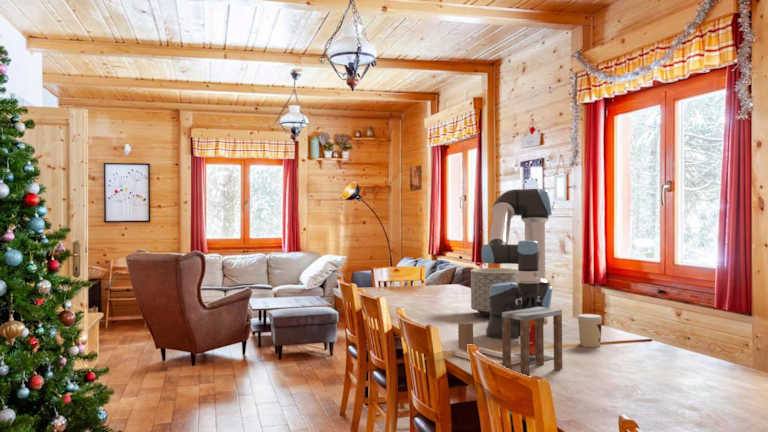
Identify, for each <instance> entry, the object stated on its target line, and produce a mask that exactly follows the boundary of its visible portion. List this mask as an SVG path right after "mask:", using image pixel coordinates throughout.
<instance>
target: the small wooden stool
mask: <svg viewBox="0 0 768 432" xmlns="http://www.w3.org/2000/svg"><path fill="white" fill-rule="evenodd" d="M562 312H563V310H562V309H557V308H551V307H550V308H545V307H533V308H526V309H520V310H514V311H507V312H502V341H501V342H502V343H501V344H502V345H501V348H502V349H501V350H502V351H501V352H502V358H501V359H502V361H503V366H505V367H506V368H509V369H511V370H512V365H511V355H512V345H511V343H512V339H511V319H510V318H512V319H517V320H520V345H519V346H520V347H519V348H520V353H521V363H520V374H521V373H522V374H525V375H527V376H530V375H531V373H530V372H531V371H530V367H531V364H530V362H529V320H533V319H535V355H536V364H535V365H536V366H544V365H545V361H544V356H545V354H544V351H545V350H544V325H543V318H544V317H546V318H548V317H552V318H553V322H552V323H553V358H554V359H553V370H555V369H557V370H556V371H561V370H560V369H562V370H563V313H562Z"/></svg>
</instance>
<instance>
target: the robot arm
mask: <svg viewBox="0 0 768 432" xmlns="http://www.w3.org/2000/svg"><path fill="white" fill-rule="evenodd" d="M491 213H492V222H491V228H490V233H489V240H488V243H487V244H483V245H482V247H481V261H482V262H483V264H492V265H494V264H495V265H496V264H502V265H503V264H504V265H506V264H507V265H508V264H509V265H510V264H511V265H515V264H516V265H517V268H518V269H517V270H518V281H519V283H518V286H516V285H517V284H516V282H505V283H498V284H494V285H492V286H491V287H490V295H489V296H490V317H489V320H488V323H487V327H486V329H485V336H486V337H488V338H492V339H500V340H501V339H502V312H507V311H514V310H520V309H526V308H533V307H545V308H551V303H552V302H551V301H552V295H553V294H552V293H553V286H552V285H551V286H549V282H548V281H547V280H546V279H547V277H546V222H548V221H549V217H550V216H552V214H553V213H552V207H551V201H550V192H549V191H548V189H545V188H522V189H521V188H520V189H519V188H518V189H510V190H507V191H505V192H503V193H501V195H499V196H498V197H497V198H496V200H495V201H494V203H493V204H492V208H491ZM514 216H520V220H521V221H522V222H523V223H524V240H519V241H518V242H517V244H509V237H510V229H511V222H512V218H513V217H514ZM545 277H546V278H545ZM510 319H511V340H512V339H513V340H514V339H518V345H519V346H520V320H517V319H512V318H510ZM543 322H544V318H543Z"/></svg>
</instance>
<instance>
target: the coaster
mask: <svg viewBox="0 0 768 432" xmlns="http://www.w3.org/2000/svg"><path fill="white" fill-rule="evenodd" d="M513 355H514V356H518V357H521V352H519V353H515V354H513ZM553 360H554V357H552V356H551V357H550V356H547V355H544V362H549V361H553ZM529 362H530V366H531V365H536V356H529Z"/></svg>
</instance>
